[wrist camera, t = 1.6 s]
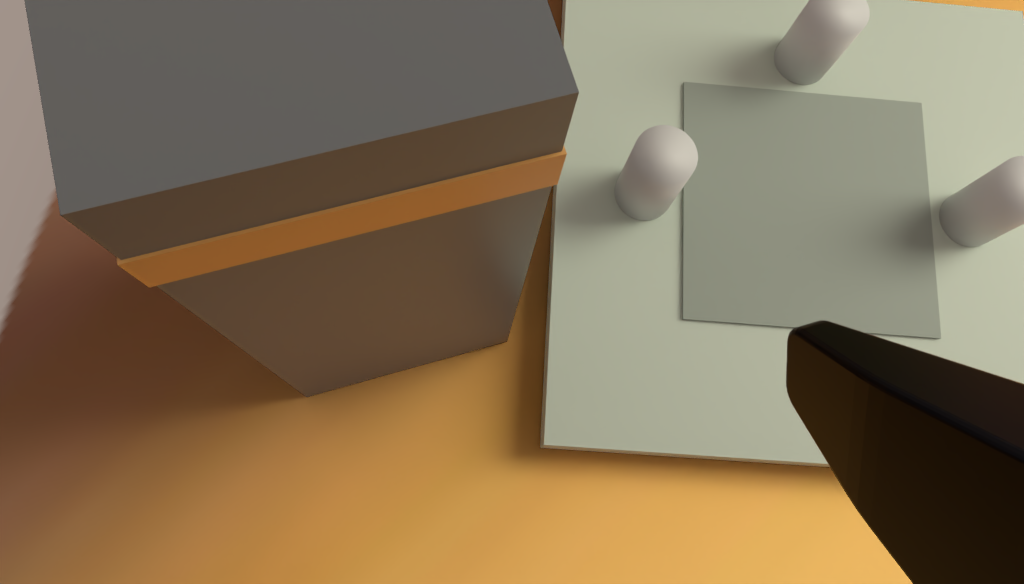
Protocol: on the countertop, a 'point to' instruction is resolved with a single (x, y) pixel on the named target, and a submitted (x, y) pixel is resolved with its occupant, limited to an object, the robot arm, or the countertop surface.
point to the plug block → (312, 165)
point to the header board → (774, 210)
